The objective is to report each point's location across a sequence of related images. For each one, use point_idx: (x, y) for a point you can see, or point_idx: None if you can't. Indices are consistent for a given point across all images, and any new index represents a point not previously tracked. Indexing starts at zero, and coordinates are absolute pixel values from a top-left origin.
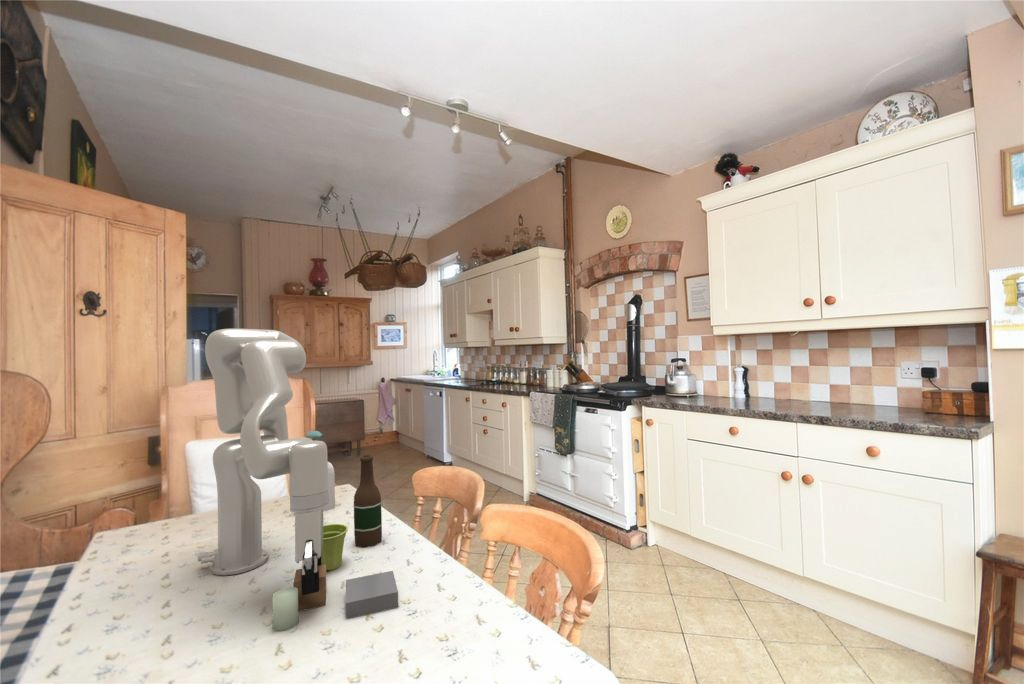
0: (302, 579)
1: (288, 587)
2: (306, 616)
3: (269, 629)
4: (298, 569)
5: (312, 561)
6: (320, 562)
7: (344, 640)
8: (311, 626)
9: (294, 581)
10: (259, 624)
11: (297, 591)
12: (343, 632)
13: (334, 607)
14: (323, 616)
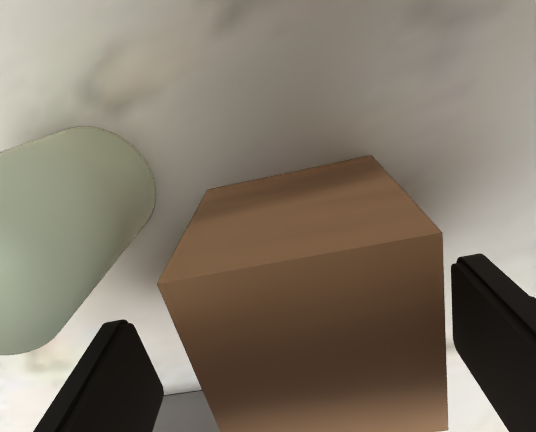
0: (47, 420)
1: (58, 276)
2: (160, 261)
3: (48, 116)
4: (440, 252)
5: (507, 373)
6: (492, 402)
7: (4, 412)
8: None
9: (176, 288)
10: (93, 29)
11: (4, 354)
12: (48, 403)
13: None
14: (155, 326)
